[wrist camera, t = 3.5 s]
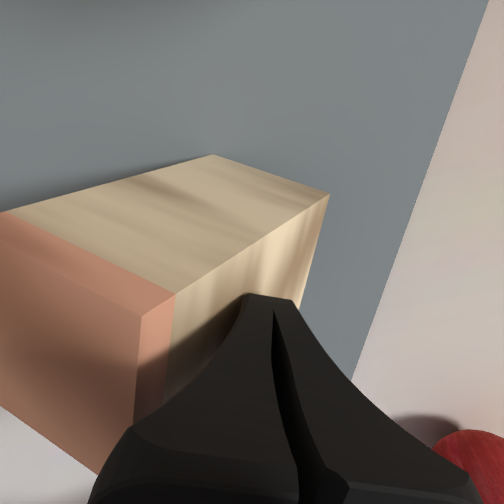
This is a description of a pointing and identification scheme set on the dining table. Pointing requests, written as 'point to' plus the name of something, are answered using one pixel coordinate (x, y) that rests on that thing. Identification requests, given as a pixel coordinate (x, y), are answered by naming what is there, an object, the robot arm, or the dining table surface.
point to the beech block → (139, 290)
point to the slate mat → (243, 113)
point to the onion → (477, 460)
